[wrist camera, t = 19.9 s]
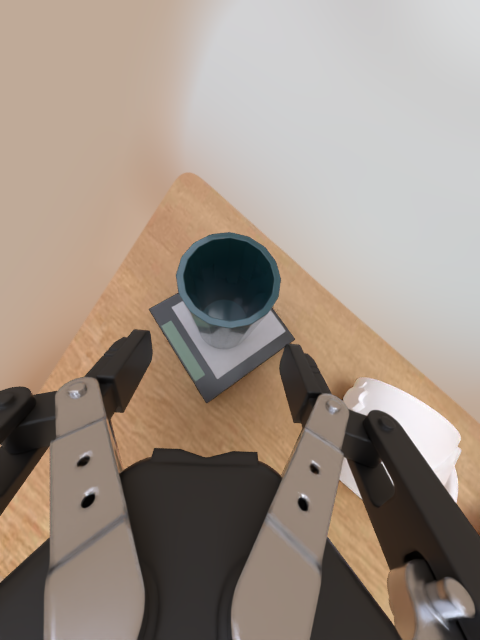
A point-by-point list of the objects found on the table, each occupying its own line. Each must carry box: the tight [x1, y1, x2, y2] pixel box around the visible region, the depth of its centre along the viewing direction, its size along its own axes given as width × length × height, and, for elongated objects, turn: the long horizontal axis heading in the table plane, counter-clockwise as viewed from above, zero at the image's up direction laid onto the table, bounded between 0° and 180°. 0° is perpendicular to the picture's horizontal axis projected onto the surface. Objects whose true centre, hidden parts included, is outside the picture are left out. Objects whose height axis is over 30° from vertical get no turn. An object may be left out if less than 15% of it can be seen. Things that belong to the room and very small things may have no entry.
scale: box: [149, 293, 295, 403], centre depth 23 cm, size 12×12×3 cm
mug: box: [339, 377, 461, 502], centre depth 19 cm, size 12×9×8 cm
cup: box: [176, 232, 281, 349], centre depth 16 cm, size 6×6×11 cm
